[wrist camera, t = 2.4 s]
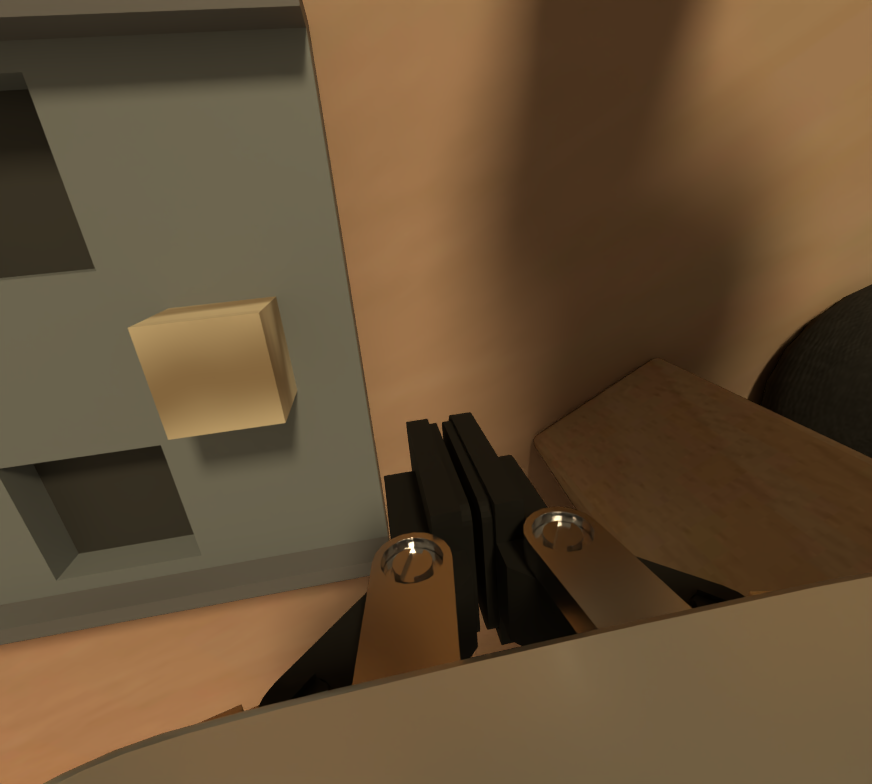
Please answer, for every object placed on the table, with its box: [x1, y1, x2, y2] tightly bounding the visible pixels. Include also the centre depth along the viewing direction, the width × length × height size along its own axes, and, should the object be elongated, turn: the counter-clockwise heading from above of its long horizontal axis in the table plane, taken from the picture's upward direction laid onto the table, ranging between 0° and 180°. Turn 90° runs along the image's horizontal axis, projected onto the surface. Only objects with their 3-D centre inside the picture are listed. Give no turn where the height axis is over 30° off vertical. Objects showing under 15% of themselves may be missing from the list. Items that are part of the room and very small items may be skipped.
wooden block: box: [534, 358, 872, 597], centre depth 22 cm, size 10×10×20 cm
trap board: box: [0, 0, 389, 645], centre depth 21 cm, size 28×30×4 cm
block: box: [128, 296, 297, 440], centre depth 20 cm, size 5×5×4 cm
